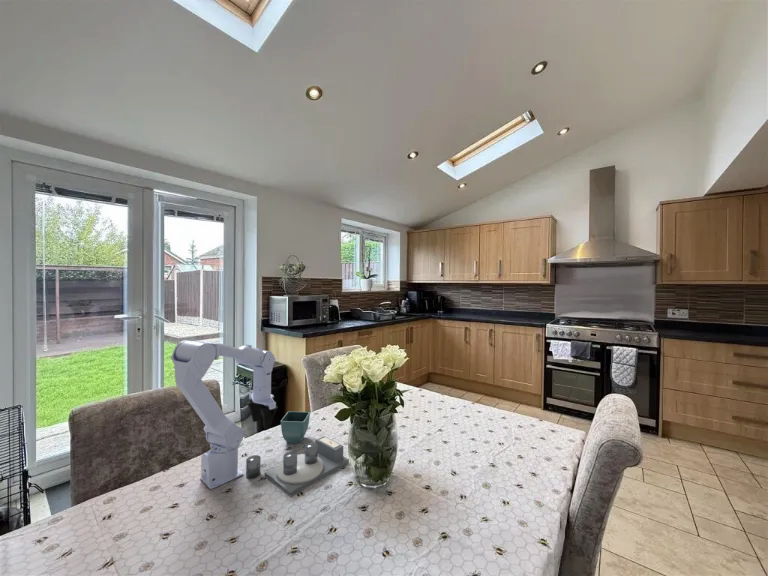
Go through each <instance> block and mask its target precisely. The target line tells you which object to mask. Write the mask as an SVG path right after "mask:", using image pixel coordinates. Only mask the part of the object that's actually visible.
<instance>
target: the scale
mask: <svg viewBox="0 0 768 576" xmlns="http://www.w3.org/2000/svg"><path fill="white" fill-rule="evenodd" d="M315 443H317V444H318V452H317V462H316V463H315V464H311V465H308V464H306V463H305V452H304V453H301V454H297V472H296V473H295V474H293V475H289V476H287V475H284V474H283V460H282V461H280V463H279V464H278V465H277V466H274V467H272V468H270V469H268V470H266V471H264V472H263V473H264V475H263V476H264V477H265V478H266V479H268V480H269V481H270V482H271V483H272V484H274V485H275V486H276V487H277V488H279V489H280V490H281V491H283V492H284V493H285V494H286V495H288V497H292V496H294V495H296V494H297V493H300V492H301V491H303V490H305V489H306V488H308V487H310V486H311V485H313V484H315V483H316V482H319V481H320V480H322V479H324V478H325V477H327V476H329V475H330V474H333V473H334V472H336V471H338V470H339V469H341V468H343V467H344V466H346V465H348V464H349V463H350V459H349V458H347V457H345V456H344V445H343V444H340V443H338V442H337V441H335V440H333V439H331V438H328V437H327V436H325V435H323V436H322V437H319V438H317V439H316V440H315Z"/></svg>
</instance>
